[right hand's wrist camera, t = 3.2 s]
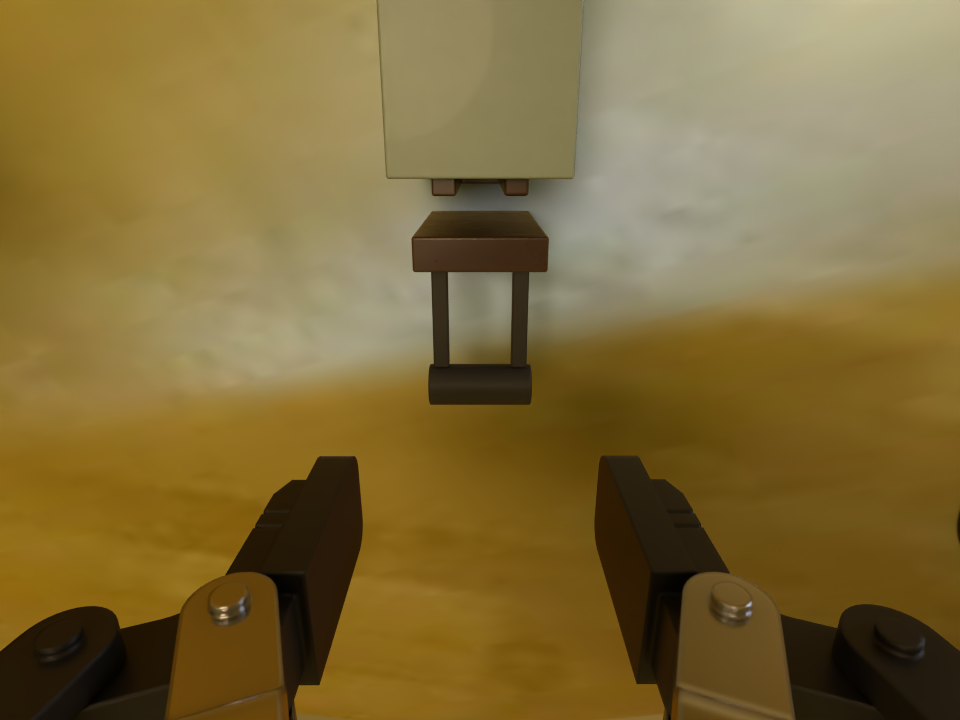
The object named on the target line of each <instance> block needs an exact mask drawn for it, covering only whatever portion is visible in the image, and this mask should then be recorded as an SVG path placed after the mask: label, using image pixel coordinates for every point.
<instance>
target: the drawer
mask: <svg viewBox="0 0 960 720" xmlns="http://www.w3.org/2000/svg"><path fill="white" fill-rule="evenodd" d="M431 180H432V195H433V196H455V195H456V193H457V191H458V189H459V187H460V186H461V184H462V183H499V184H500V186H501V188H502V190H503V192H504V194H505V195H507V196H526V195H528V191H529V179H431ZM548 245H549V238H548V237H547V235H546V234H545V233H544V231H543V230H542V229H541V227H540V226H539V225H538V223H537V222H536V221H535V220H534V218H533V217H532V216H531V214H530V213H529V212H528V211H432V212H431V213H430V215H429V216H428V217H427V219H426V220H425V221H424V223H423V224H422V225H421V226H420V228H419V229H418V230H417V232H416V233H415V234H414V236H413V237H412V261H413V271H414V272H431V281H432V315H433V348H434V364H431V365H430V367H429V382H428V388H429V402H430V404H431V405H529V404H530V403H531V394H532V376H531V366H530V364H526V356H527V323H528V290H529V272H547V269H548ZM448 272H512V321H511V364H449V362H450V360H449V309H448Z"/></svg>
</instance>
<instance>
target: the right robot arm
mask: <svg viewBox="0 0 960 720" xmlns="http://www.w3.org/2000/svg"><path fill="white" fill-rule="evenodd" d="M362 531H363V519H362V506H361V495H360V483H359V471H358V463H357V459H356V457H355V456H320V457H318V459H317V460H316V462H315V464H314V466H313V468H312V470H311V472H310V474H309V476H308V478H307V479H306V480H292V481H290V482H289V483H288V484H286V485H285V486H284V487H282V488H281V489H280V490H279V491H277V492H276V493H275V494H273V496H272V498H271V500H270V501H269V503H268V505H267V506H266V508H265V510H264V514H262V515H261V516H260V518H259V520H258V521H257V523H256V525H255V528H253V530H252V531H251V533H250V535H249V536H248V538H247V540H246V541H245V543H244V545H243V546H242V548H241V550H240V551H239V553H238V555H237V556H236V558H235V560H234V561H233V563H232V565H231V566H230V568H229V570H228V571H227V573H226V575H225V576H222V577H219V578H217V579H214V580H212V581H210V582H208V583H206V584H205V585H203V586H202V587H200V588H199V589H198V590H196V591H195V592H194V593H193V594H192V595H191V596H190V597H189V598H188V599H187V601H186V602H185V603H184V605H183V607H182V609H181V612H180V613H179V614H176V615H174V616H171V617H168V618H164V619H161V620H156V621H152V622H148V623H144V624H139V625H135V626H131V627H127V628H122V629H120V626H119V623H118V619H117V617H116V615H115V614H114V613H113V612H112V611H110V610H109V609H106V608H103V607H97V606H86V607H79V608H74V609H70V610H67V611H64V612H61V613H58V614H55V615H53V616H51V617H48V618H46V619H44V620H43V621H41V622H39V623H37V624H35V625H34V626H32V627H31V628H29V629H28V630H26V631H25V632H24V633H22V634H21V635H20V636H19V637H17V638H16V639H15V640H14V641H12V642H11V643H10V644H9V645H8V646H6V647H5V648H4V649H3V650H1V651H0V720H297V716H296V709H295V703H294V698H295V695H296V692H297V689H298V686H299V685H320V681H321V678H322V675H323V671H324V668H325V665H326V661H327V658H328V655H329V651H330V648H331V645H332V641H333V638H334V635H335V631H336V628H337V625H338V621H339V618H340V615H341V611H342V608H343V605H344V601H345V598H346V595H347V591H348V588H349V585H350V581H351V578H352V575H353V571H354V568H355V565H356V561H357V558H358V555H359V551H360V547H361V541H362ZM595 539H596V546H597V550H598V554H599V557H600V560H601V564H602V567H603V571H604V574H605V577H606V581H607V584H608V588H609V591H610V594H611V598H612V601H613V605H614V608H615V612H616V615H617V618H618V622H619V625H620V629H621V632H622V635H623V639H624V642H625V646H626V649H627V652H628V656H629V659H630V663H631V666H632V670H633V673H634V676H635V680H636V683H637V684H657V685H658V689H659V692H660V695H661V698H662V701H663V704H664V707H665V709H664V715H663V720H960V651H959V650H957V649H956V648H955V647H954V646H952V645H951V644H950V643H949V642H948V641H946V640H945V639H944V638H943V637H941V636H940V635H939V634H938V633H936V632H935V631H934V630H932V629H931V628H930V627H928V626H927V625H925V624H924V623H922V622H920V621H919V620H917V619H915V618H913V617H911V616H909V615H907V614H904V613H902V612H900V611H897V610H894V609H891V608H887V607H883V606H878V605H867V604H863V605H855V606H852V607H849V608H848V609H846V610H845V611H844V612H843V613H842V615H841V617H840V620H839V624H838V628H833V627H829V626H825V625H821V624H817V623H812V622H808V621H804V620H800V619H795V618H792V617H788V616H785V615H782V614H780V612H779V609H778V607H777V605H776V603H775V602H774V601H773V599H772V598H771V597H770V596H769V595H768V594H767V593H766V592H765V591H764V590H762V589H761V588H760V587H758V586H757V585H755V584H754V583H752V582H750V581H748V580H746V579H743V578H741V577H738V576H735V575H732V574H730V572H729V571H728V569H727V567H726V566H725V564H724V562H723V561H722V559H721V557H720V556H719V554H718V552H717V550H716V549H715V547H714V545H713V544H712V542H711V540H710V539H709V537H708V535H707V533H706V532H705V530H704V528H701V523H700V522H699V520H698V518H697V516H696V515H695V514H693V510H692V508H691V506H690V505H689V503H688V501H687V500H686V498H685V496H684V494H683V493H682V492H680V491H679V490H678V489H676V488H675V487H674V486H672V485H671V484H670V483H669V482H667V481H666V480H665V479H650V478H649V476H648V474H647V472H646V470H645V468H644V466H643V464H642V462H641V460H640V458H639V457H638V456H602V457H601V459H600V463H599V472H598V484H597V496H596V508H595Z"/></svg>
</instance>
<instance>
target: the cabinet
mask: <svg viewBox="0 0 960 720" xmlns="http://www.w3.org/2000/svg"><path fill="white" fill-rule="evenodd" d="M583 8H584V0H377V16H378V35H379V53H380V71H381V90H382V108H383V127H384V145H385V164H386V177H387V178H388V179H572V178H574V172H575V154H576V135H577V117H578V99H579V81H580V63H581V45H582V27H583Z"/></svg>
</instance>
